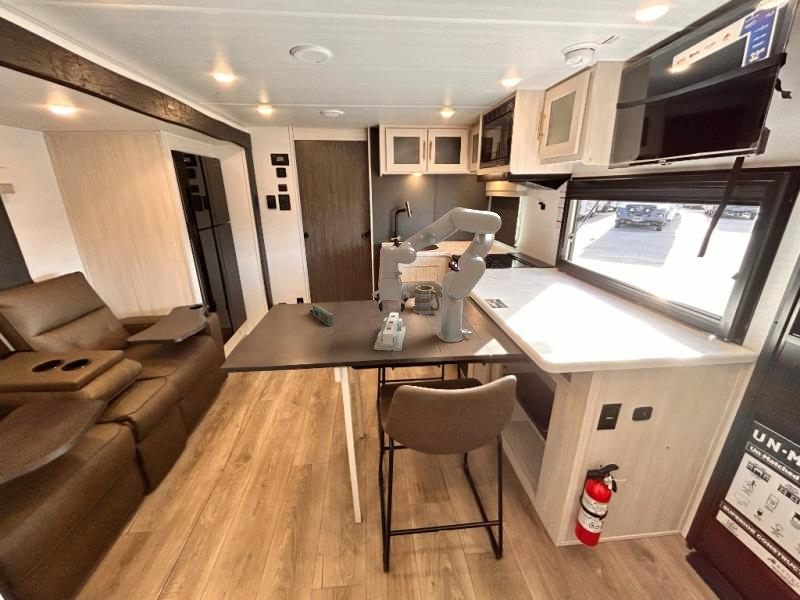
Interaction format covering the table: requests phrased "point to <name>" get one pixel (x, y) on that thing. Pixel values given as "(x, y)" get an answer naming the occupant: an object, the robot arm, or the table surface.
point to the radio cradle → (396, 342)
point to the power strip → (390, 328)
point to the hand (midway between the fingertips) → (391, 310)
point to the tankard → (426, 300)
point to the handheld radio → (323, 315)
